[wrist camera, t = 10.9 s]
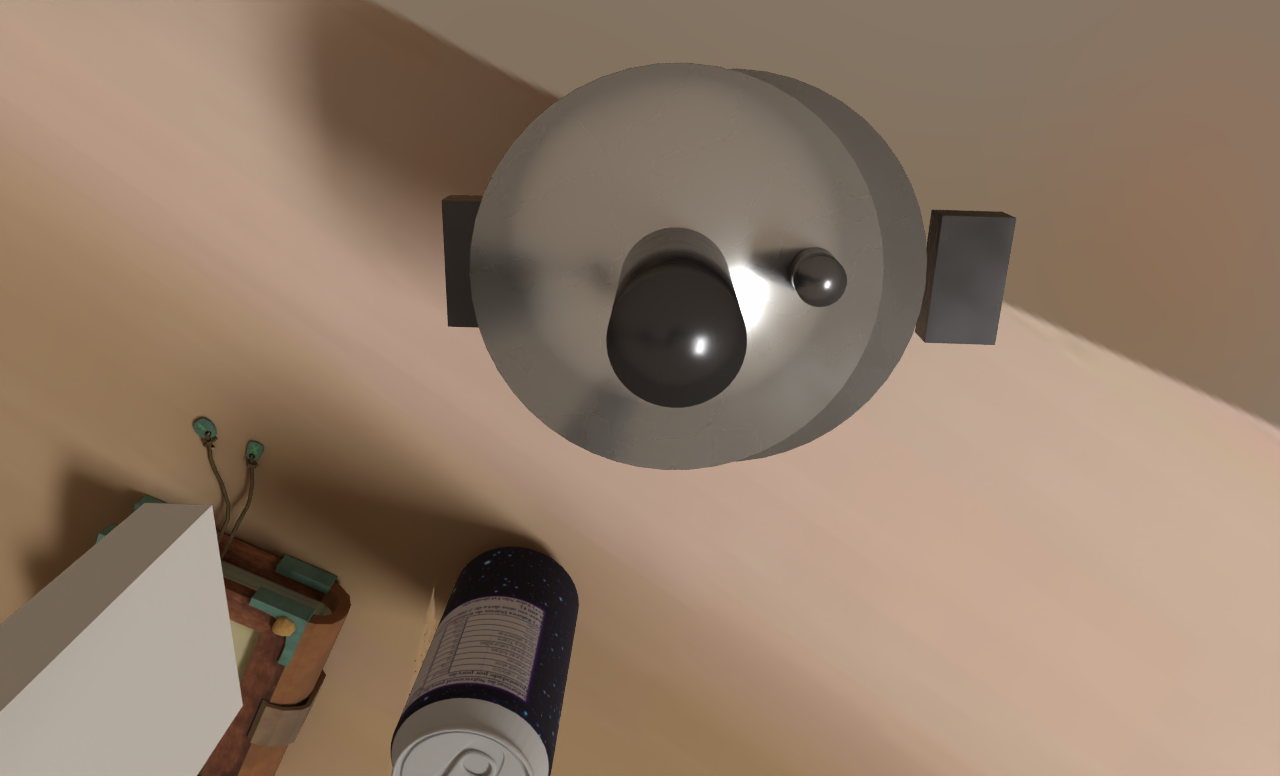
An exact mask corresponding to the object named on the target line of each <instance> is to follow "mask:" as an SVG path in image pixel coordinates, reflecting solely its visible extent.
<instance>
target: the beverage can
mask: <svg viewBox="0 0 1280 776" xmlns="http://www.w3.org/2000/svg"><path fill="white" fill-rule="evenodd" d="M578 607H579V602H578V594H577V590H576V587H575V585H574V583H573V581H572V579H571V577H570V576H569V574H568V573H567V572H566V571H565V570H564V568H563V567H562V566H561V565H559V564H558V563H557V562H556V561H554V560H553V559H552V558H550V557H548V556H546V555H544V554H542V553H540V552H537V551H535V550H531V549H527V548H521V547H503V548H498V549H493V550H490V551H488V552H485V553H483V554H481V555H479V556H478V557H476V558H475V559H473V560H472V561H471V562H470V563H469V564H468V565H467V566H466V567H465V568H464V569H463V571H462V572H461V574H460V575H459V578H458V580H457V582H456V585H455V587H454V589H453V592H452V594H451V597H450V599H449V601H448V604H447V606H446V609H445V611H444V613H443V616H442V618H441V621H440V623H439V626H438V628H437V630H436V633H435V635H434V638H433V640H432V642H431V645H430V647H429V650H428V652H427V654H426V657H425V659H424V662H423V664H422V667H421V669H420V671H419V674H418V676H417V679H416V681H415V683H414V686H413V688H412V691H411V693H410V695H409V698H408V700H407V703H406V705H405V708H404V710H403V712H402V715H401V717H400V720H399V722H398V724H397V727H396V729H395V732H394V734H393V738H392V742H391V760H392V766H393V768H392V775H391V776H550V774H551V769H552V763H553V757H554V751H555V745H556V739H557V733H558V728H559V722H560V716H561V710H562V704H563V698H564V692H565V686H566V680H567V674H568V668H569V662H570V656H571V650H572V644H573V638H574V633H575V627H576V621H577V615H578Z"/></svg>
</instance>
